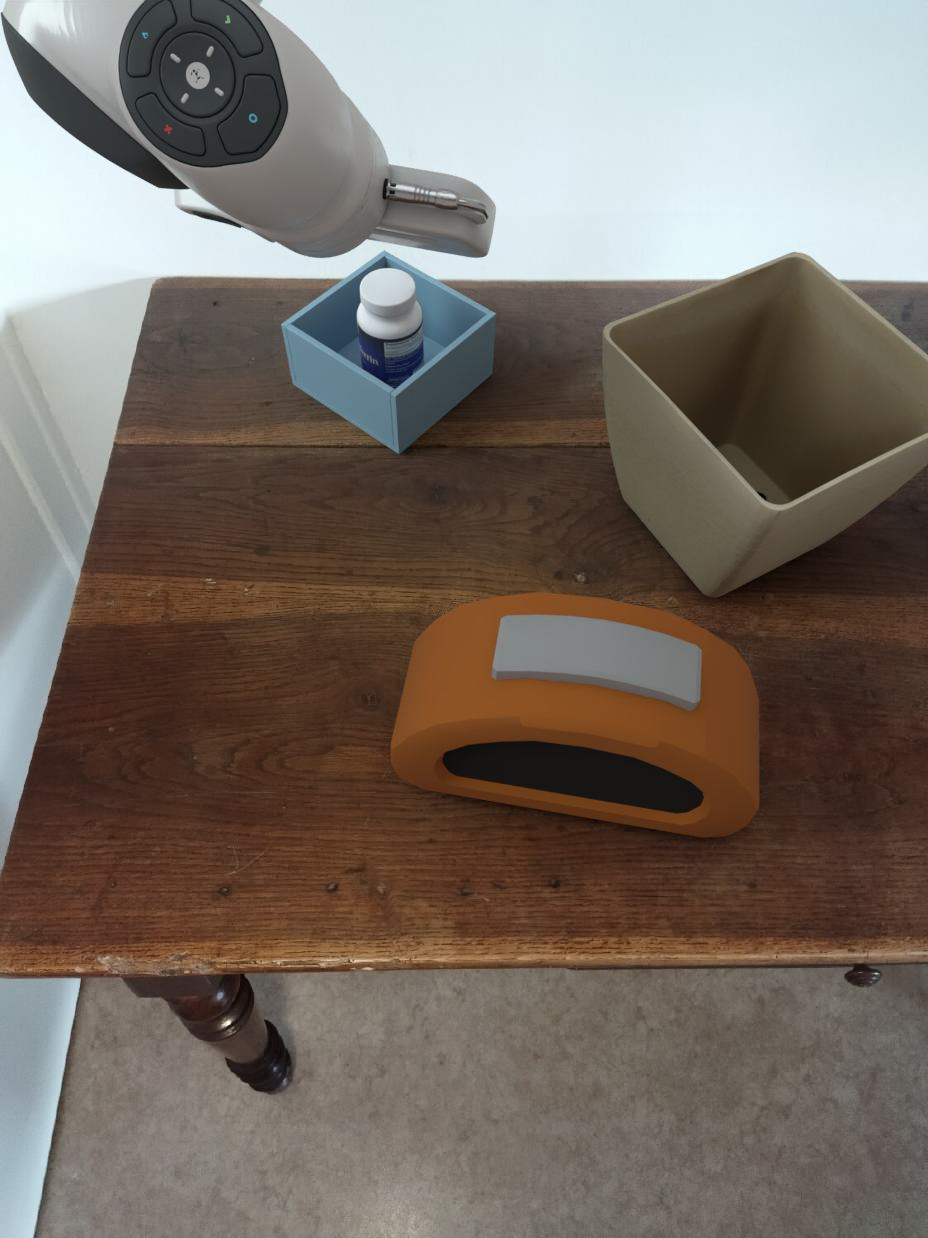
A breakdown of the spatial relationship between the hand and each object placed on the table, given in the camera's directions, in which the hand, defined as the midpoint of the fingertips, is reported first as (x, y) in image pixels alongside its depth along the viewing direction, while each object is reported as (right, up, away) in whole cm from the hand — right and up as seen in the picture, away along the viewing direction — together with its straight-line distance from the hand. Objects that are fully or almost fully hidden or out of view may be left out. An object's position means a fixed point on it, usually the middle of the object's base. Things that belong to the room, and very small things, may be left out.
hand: (370, 224), depth 66 cm
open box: (0, -7, +16) cm, 18 cm away
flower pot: (+29, -21, +9) cm, 37 cm away
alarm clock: (+14, -40, -3) cm, 42 cm away
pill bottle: (0, -7, +16) cm, 18 cm away
